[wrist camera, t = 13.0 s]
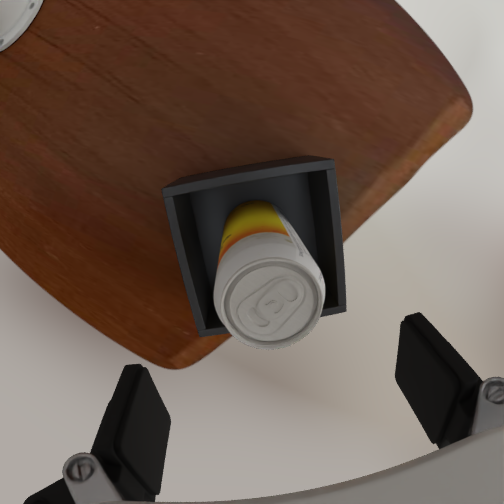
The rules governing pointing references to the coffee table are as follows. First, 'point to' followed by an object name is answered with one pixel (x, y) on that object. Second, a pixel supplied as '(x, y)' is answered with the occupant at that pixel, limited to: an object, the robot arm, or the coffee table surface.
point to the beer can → (266, 279)
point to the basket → (249, 189)
